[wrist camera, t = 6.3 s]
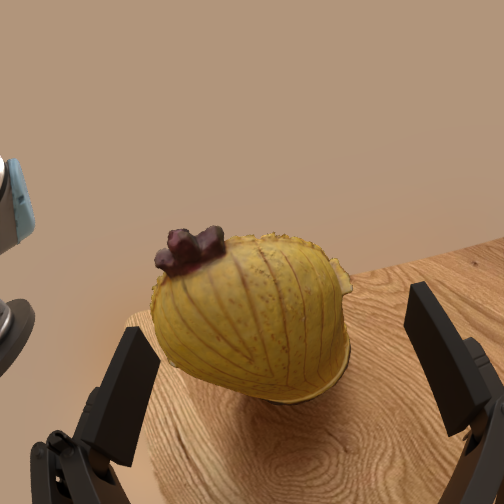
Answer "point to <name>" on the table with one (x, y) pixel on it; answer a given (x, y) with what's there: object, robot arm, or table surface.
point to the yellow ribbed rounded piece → (252, 313)
